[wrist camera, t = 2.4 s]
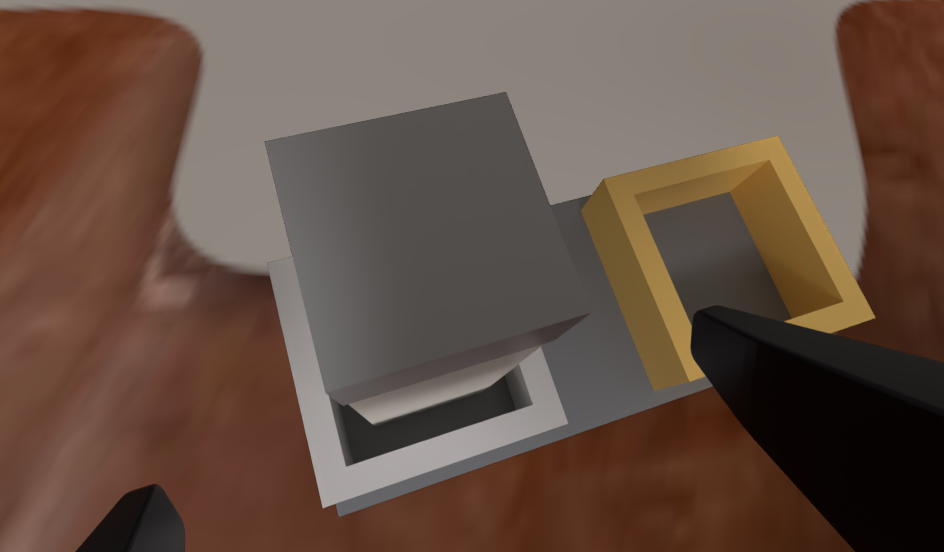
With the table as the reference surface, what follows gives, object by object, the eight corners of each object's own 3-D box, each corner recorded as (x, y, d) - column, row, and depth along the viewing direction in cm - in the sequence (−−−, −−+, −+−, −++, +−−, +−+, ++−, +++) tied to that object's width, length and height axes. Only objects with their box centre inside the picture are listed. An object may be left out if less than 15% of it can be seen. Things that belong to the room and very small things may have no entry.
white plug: (451, 290, 19) (505, 92, 8) (484, 393, 18) (592, 312, 8) (345, 319, 18) (264, 141, 8) (374, 428, 17) (324, 392, 7)
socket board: (724, 166, 22) (771, 123, 20) (814, 349, 20) (883, 332, 17) (285, 279, 19) (263, 247, 16) (341, 515, 17) (327, 528, 14)
